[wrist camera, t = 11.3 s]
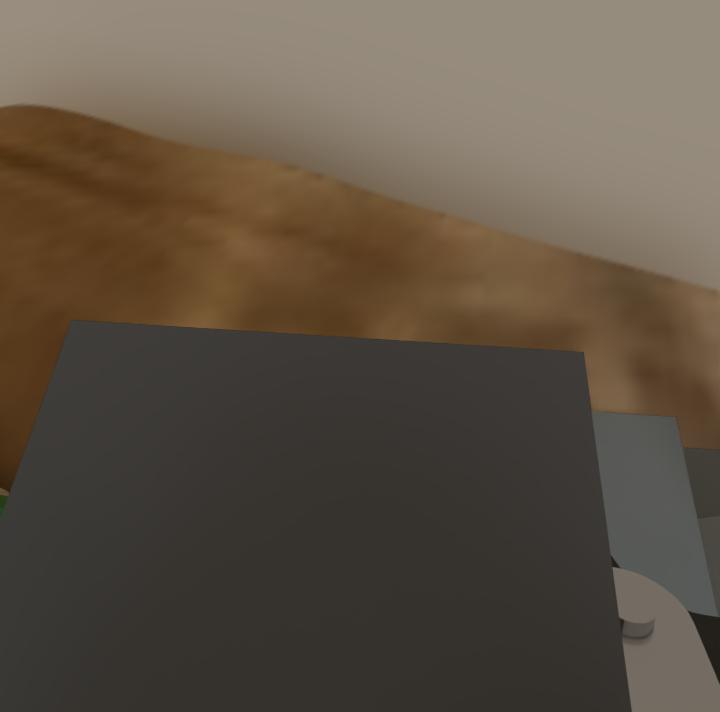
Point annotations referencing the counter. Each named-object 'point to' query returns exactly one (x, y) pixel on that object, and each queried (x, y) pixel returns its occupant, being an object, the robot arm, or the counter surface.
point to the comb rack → (658, 502)
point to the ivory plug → (712, 553)
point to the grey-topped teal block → (307, 530)
